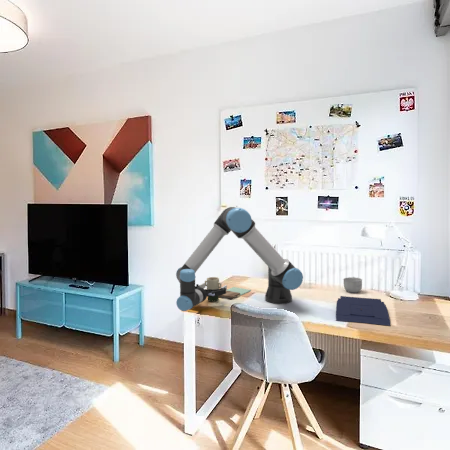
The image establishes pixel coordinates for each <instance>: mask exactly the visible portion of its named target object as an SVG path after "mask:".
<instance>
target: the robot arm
mask: <svg viewBox="0 0 450 450" xmlns="http://www.w3.org/2000/svg"><path fill="white" fill-rule="evenodd" d="M231 232H232V233H233V234H234V235H235V237H237V238H238V239H243V241H244V242H245V243H246V244H247V245H248V246H249V247H250V248H251V249H252V250H253V252H254V253H255V254H256V255H257V256H258V257H259V258H260V260H262V262H264V264H266V266H267V269H268V270H267V273H268V276H267V277H268V279H267V281H268V282H267V289H266V292H265V295H264V300H265V301H266V302H268V303H271V304H279V305H280V304H281V305H282V304H283V305H284V304H289V303H291V302H292V301H293V295H292V293H291V291H294V290H297V289H298V288H300V287H301V285H302V283H303V279H304V275H303V273H302V271H301V270H300V269H299V268H298V267H295V265H294V264H293V263H292V262H291V261H290V260H289V259H288V258H284V257H282V256H281V254H280V253H279V252H278V251H277V250H276V249H275V248H274V247H273V246H272V244H271V243H270V242H269V240H267V239H266V238H265V236H263V234H262V233H261V232H260V231H259V230H258V229H257V228H256V221H254V219H252V216H251V214H250V213H249V211H248V210H246V209H245V208H242V207H235V206H229V207H227V208H225V209H224V210H223V211H222V212H221V213H220V214H219V216H218V217H217V218H216V220H215V221H214V222H213V226H212V228H211V229H210V231H209V232H208V233H207V234H206V236H205V237H204V238H203V240H202V241H200V243H199V245H198V246H196V249H195V250H194V251H193V252H192V254H191V255H190V256H189V257H188V259H187V260H186V261H185V262H184V264H182V266H181V267H179V268H177V270H176V271H175V272H176V273H175V275H176V276H175V277H176V280H177V281H178V282H179V288H180V289H179V296H178V298H177V299H176V302H175V304H176V306H177V308H178V309H179V310H180V311H182V312H186V311H189V310H191V309H192V308H194V307H195V306H197V305H199V304H200V303H203V302H204V301H206V300H207V299H208V296H212V297H215V296H218V295H223V294H226V290H227V289H228V285H227V284H225V285H223V286H221V288H219V289H214V290H212V289H207V288H206V286H205V282H203V283H201V284H198V283H197V284H196V272H197V271H198V270H199V268H201V266H202V265H203V264H204V263H205V261H206V260H207V259H208V257H209V256H210V255H211V254H212V252H213V251H214V250H215V248H216V247H217V246H218V245H219V244H220V242H221V241H222V240H223V238H224V237H225V236H228V235H229V234H230V233H231ZM205 288H206V289H205ZM209 291H210V292H209Z"/></svg>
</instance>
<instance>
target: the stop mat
mask: <svg viewBox="0 0 450 450" xmlns="http://www.w3.org/2000/svg"><path fill="white" fill-rule="evenodd" d="M226 291H232V292H237V293H240V295H239V296H242V295H245V294H248V293H251V292H252V290H251V289H247V288H243V287H236V286H233V287H230V288H227V290H226Z"/></svg>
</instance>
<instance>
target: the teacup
mask: <svg viewBox="0 0 450 450" xmlns="http://www.w3.org/2000/svg"><path fill="white" fill-rule="evenodd" d="M342 280H343V288H344V290H345V291H346V292H347V293H351V294H354V293H359V292H361V291H362V288H363V278H360V277H355V276H351V277H350V276H348V277H344V278H343V279H342Z"/></svg>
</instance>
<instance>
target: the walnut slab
mask: <svg viewBox="0 0 450 450" xmlns="http://www.w3.org/2000/svg"><path fill="white" fill-rule="evenodd" d="M238 296H241V295H240V293H237V292H232V291H226V294H223V295H218V298H225V299H229V300H233V298H235V297H237V298H238Z"/></svg>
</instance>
